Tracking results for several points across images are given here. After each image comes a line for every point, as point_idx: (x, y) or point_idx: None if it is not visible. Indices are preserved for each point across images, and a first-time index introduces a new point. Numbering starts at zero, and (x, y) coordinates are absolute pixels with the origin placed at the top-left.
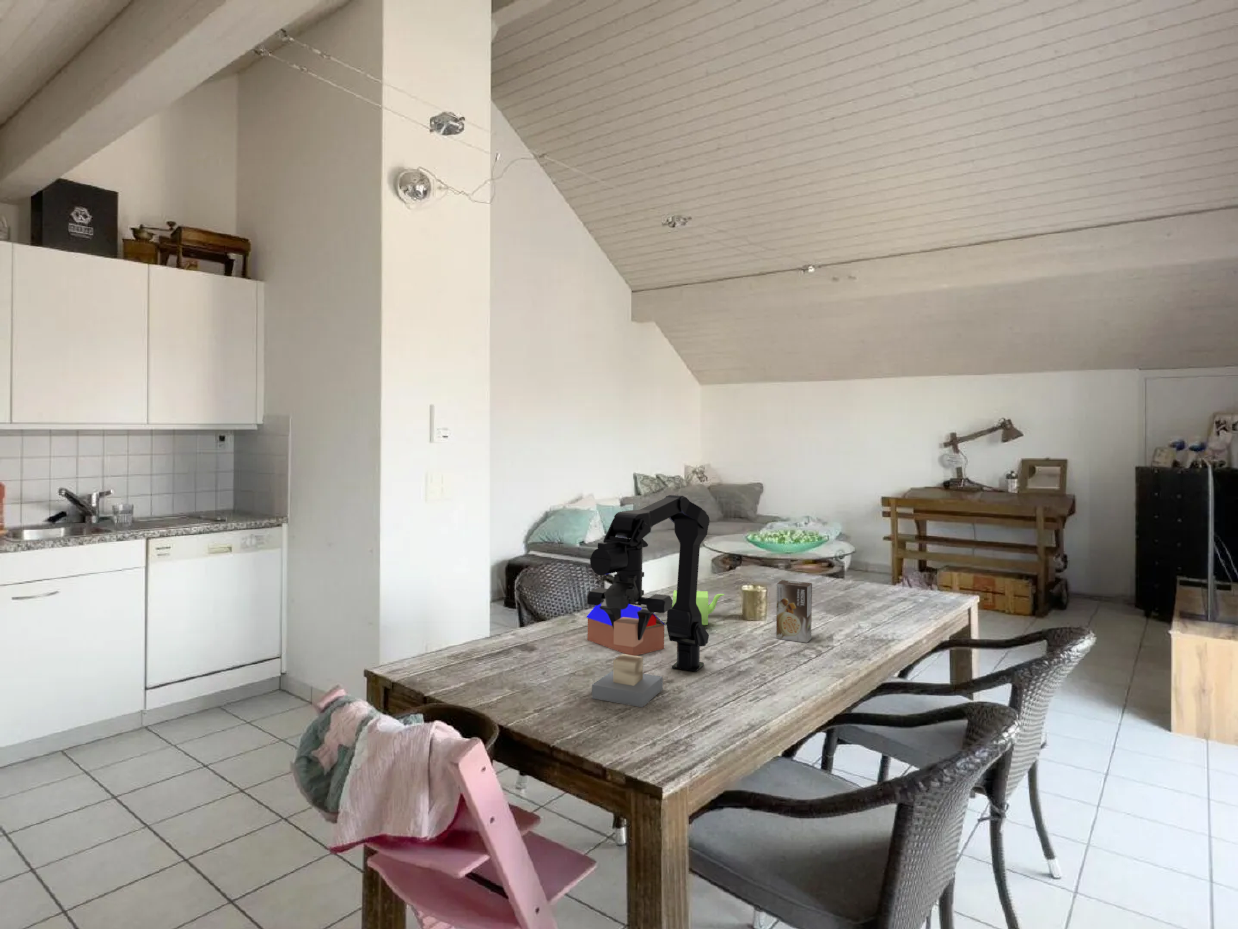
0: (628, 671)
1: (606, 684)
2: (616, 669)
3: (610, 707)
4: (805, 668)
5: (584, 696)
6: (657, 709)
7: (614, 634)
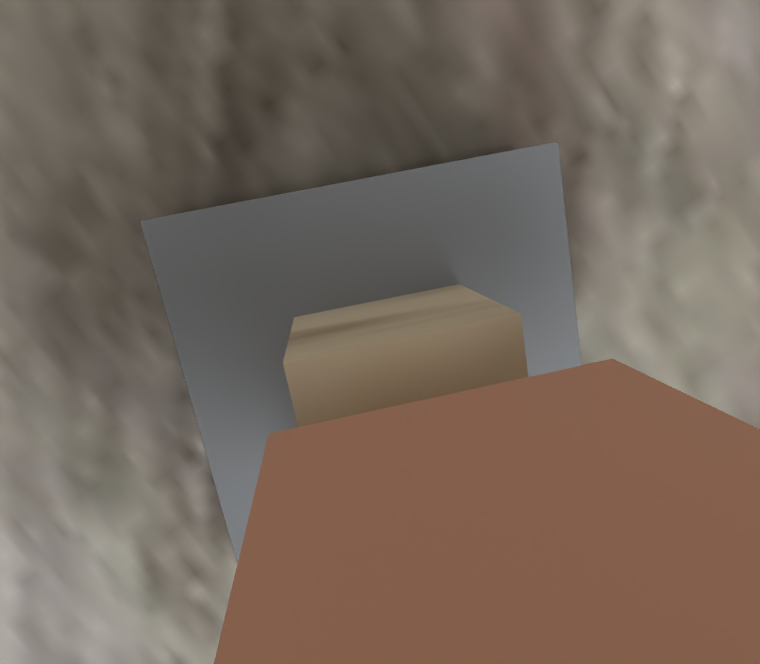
0: (342, 327)
1: (473, 213)
2: (459, 304)
3: (334, 93)
4: None
5: (576, 154)
6: (73, 252)
7: (710, 417)
